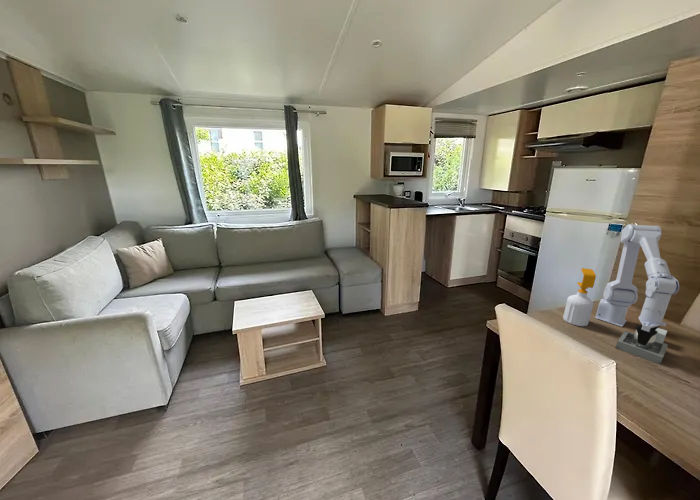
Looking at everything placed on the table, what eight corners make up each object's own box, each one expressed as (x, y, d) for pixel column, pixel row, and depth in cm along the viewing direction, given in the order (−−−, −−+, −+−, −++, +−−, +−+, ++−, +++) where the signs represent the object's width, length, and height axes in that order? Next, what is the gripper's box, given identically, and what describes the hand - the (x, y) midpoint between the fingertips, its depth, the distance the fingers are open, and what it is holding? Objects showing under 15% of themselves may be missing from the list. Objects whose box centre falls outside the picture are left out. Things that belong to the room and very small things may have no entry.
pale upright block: (636, 338, 117) (640, 327, 115) (639, 333, 120) (642, 323, 118) (661, 346, 111) (665, 335, 110) (663, 341, 114) (667, 330, 113)
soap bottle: (583, 317, 132) (596, 267, 124) (591, 328, 123) (606, 274, 116) (559, 314, 134) (571, 265, 127) (566, 324, 126) (579, 272, 119)
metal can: (630, 343, 109) (634, 332, 108) (633, 338, 112) (637, 327, 111) (650, 350, 105) (654, 338, 103) (653, 345, 108) (657, 333, 107)
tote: (615, 347, 110) (617, 341, 109) (623, 336, 117) (625, 330, 116) (660, 364, 101) (662, 357, 100) (665, 351, 108) (668, 344, 107)
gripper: (667, 319, 97) (654, 353, 101) (673, 307, 105) (661, 339, 109) (638, 311, 102) (627, 344, 106) (646, 300, 111) (636, 330, 115)
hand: (643, 341), depth 108 cm, fingers closed on metal can, 5 cm apart
